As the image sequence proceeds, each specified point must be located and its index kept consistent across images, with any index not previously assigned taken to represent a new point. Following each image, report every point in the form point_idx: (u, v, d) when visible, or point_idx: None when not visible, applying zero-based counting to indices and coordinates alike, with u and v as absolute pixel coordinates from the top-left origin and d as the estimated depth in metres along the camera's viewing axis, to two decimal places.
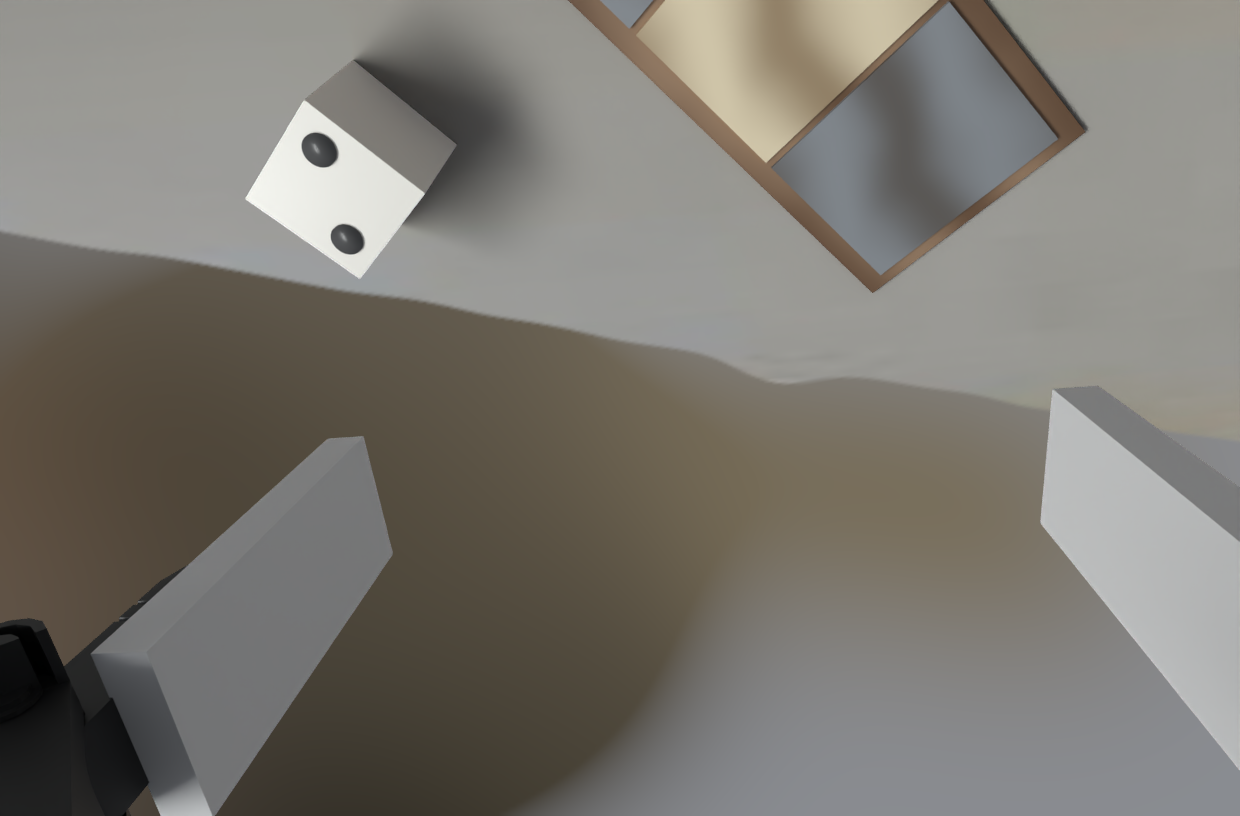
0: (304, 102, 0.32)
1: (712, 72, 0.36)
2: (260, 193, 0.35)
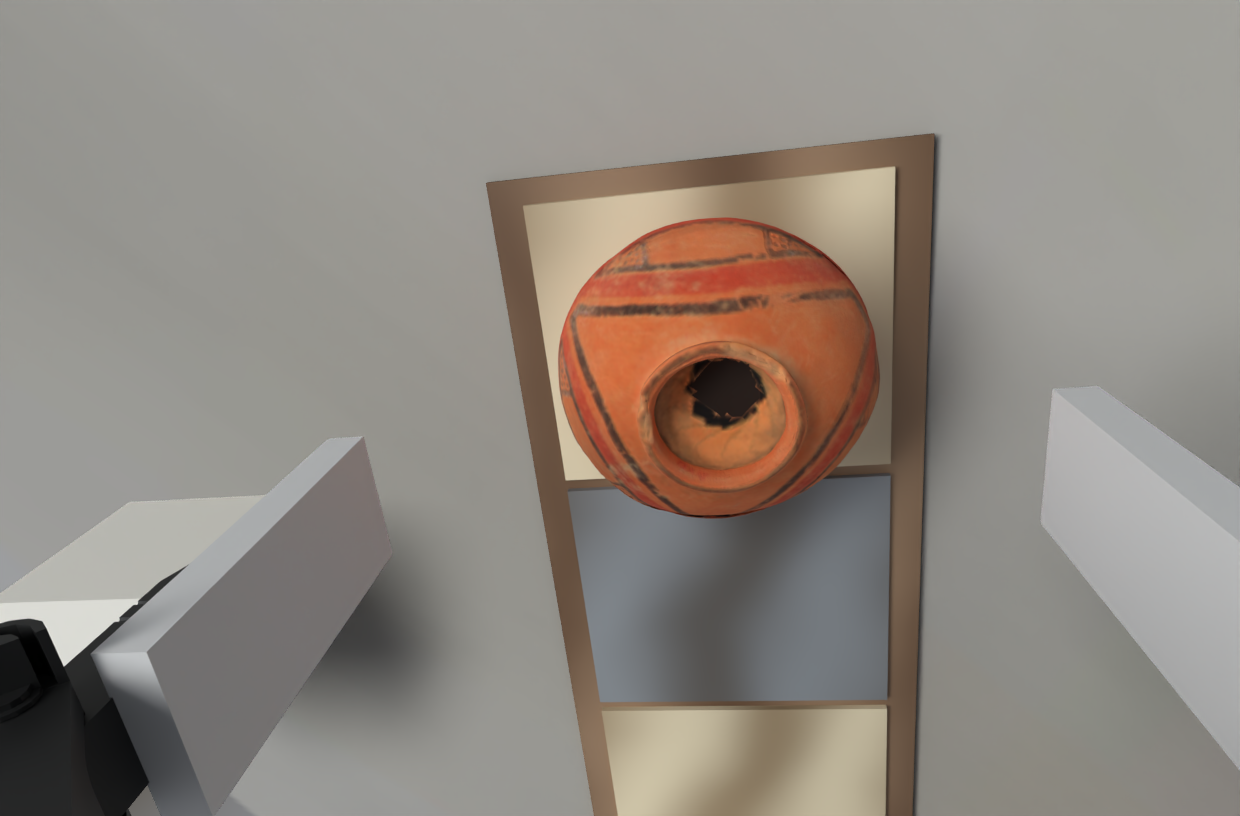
0: None
1: (644, 786, 0.29)
2: (14, 615, 0.22)
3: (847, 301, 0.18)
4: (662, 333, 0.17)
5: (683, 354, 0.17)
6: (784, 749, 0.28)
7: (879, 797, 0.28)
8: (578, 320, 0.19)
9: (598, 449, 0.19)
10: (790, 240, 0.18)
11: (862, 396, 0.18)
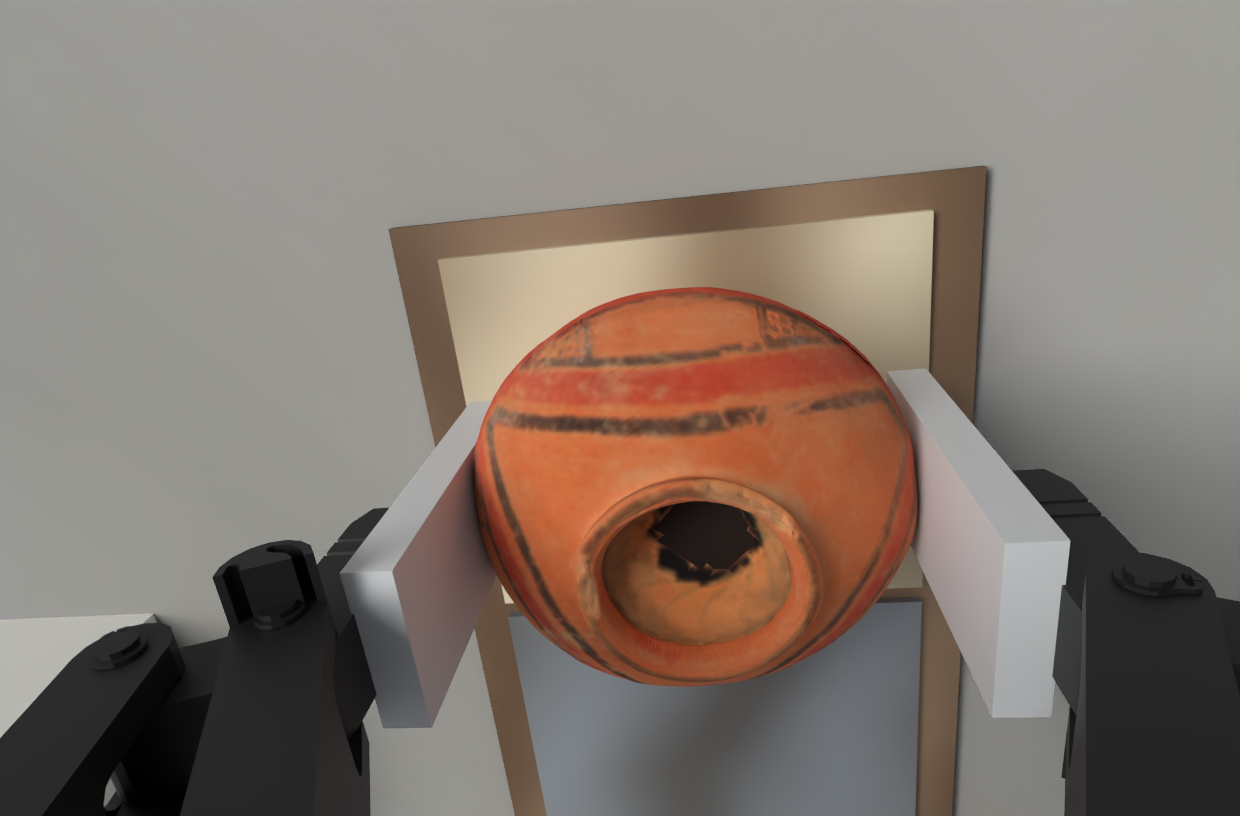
0: None
1: None
2: None
3: (877, 407, 0.12)
4: (611, 461, 0.12)
5: (642, 496, 0.11)
6: None
7: None
8: (497, 430, 0.13)
9: (527, 607, 0.14)
10: (795, 321, 0.12)
11: (897, 538, 0.13)
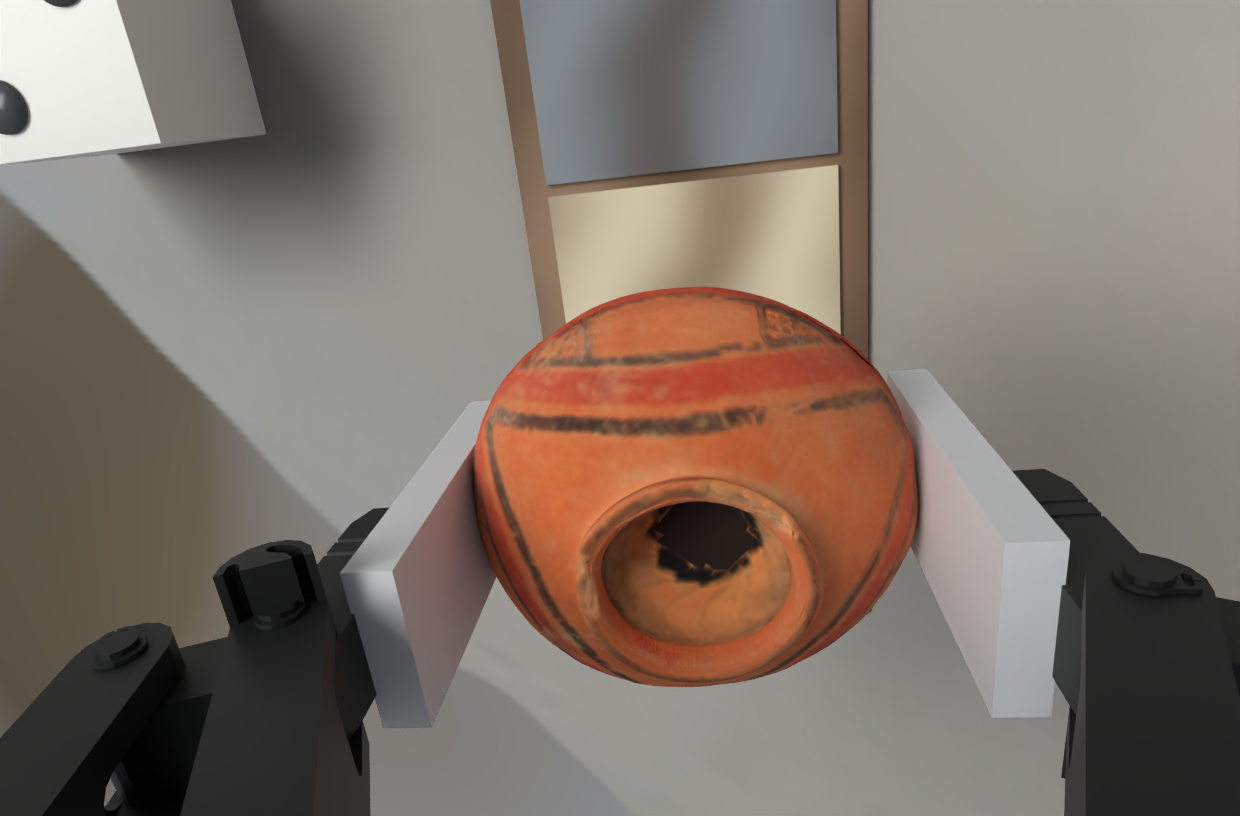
0: None
1: (594, 295, 0.29)
2: None
3: (877, 407, 0.12)
4: (611, 461, 0.12)
5: (641, 495, 0.11)
6: (735, 230, 0.27)
7: (833, 286, 0.28)
8: (497, 430, 0.13)
9: (527, 607, 0.14)
10: (795, 320, 0.12)
11: (898, 538, 0.13)
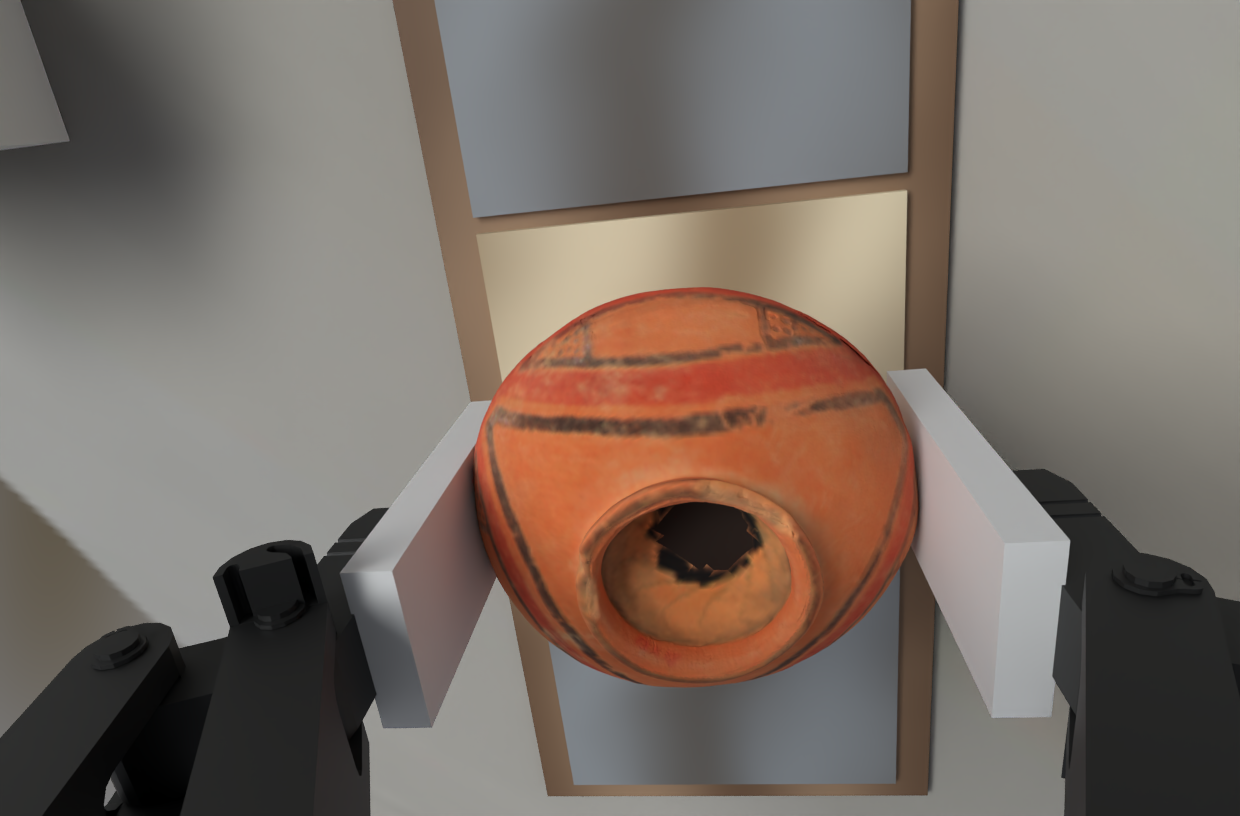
0: None
1: None
2: None
3: (877, 407, 0.12)
4: (611, 462, 0.12)
5: (640, 496, 0.11)
6: (751, 285, 0.18)
7: (894, 365, 0.19)
8: (497, 430, 0.13)
9: (527, 607, 0.14)
10: (795, 321, 0.12)
11: (898, 538, 0.13)
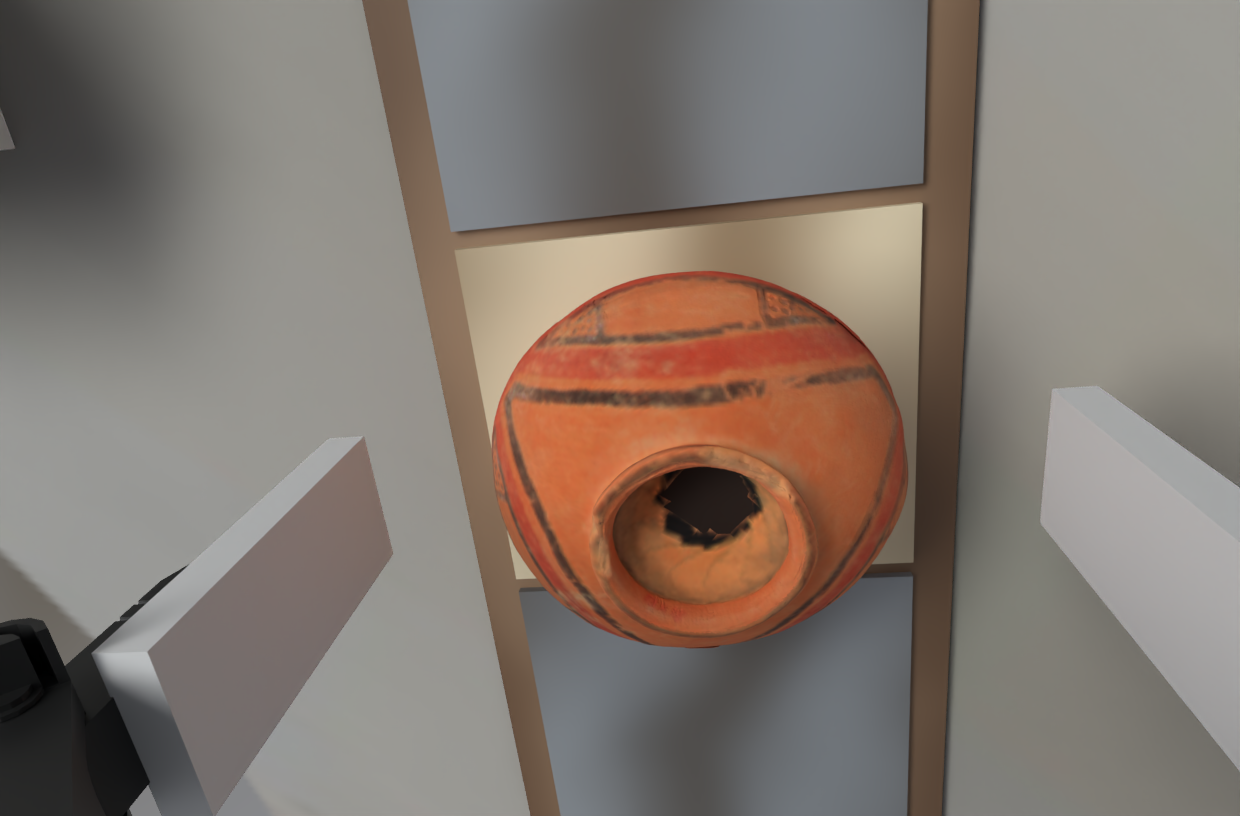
0: None
1: None
2: None
3: (868, 382, 0.13)
4: (622, 430, 0.13)
5: (650, 461, 0.12)
6: None
7: (907, 391, 0.17)
8: (515, 404, 0.14)
9: (542, 571, 0.15)
10: (793, 302, 0.13)
11: (888, 506, 0.14)
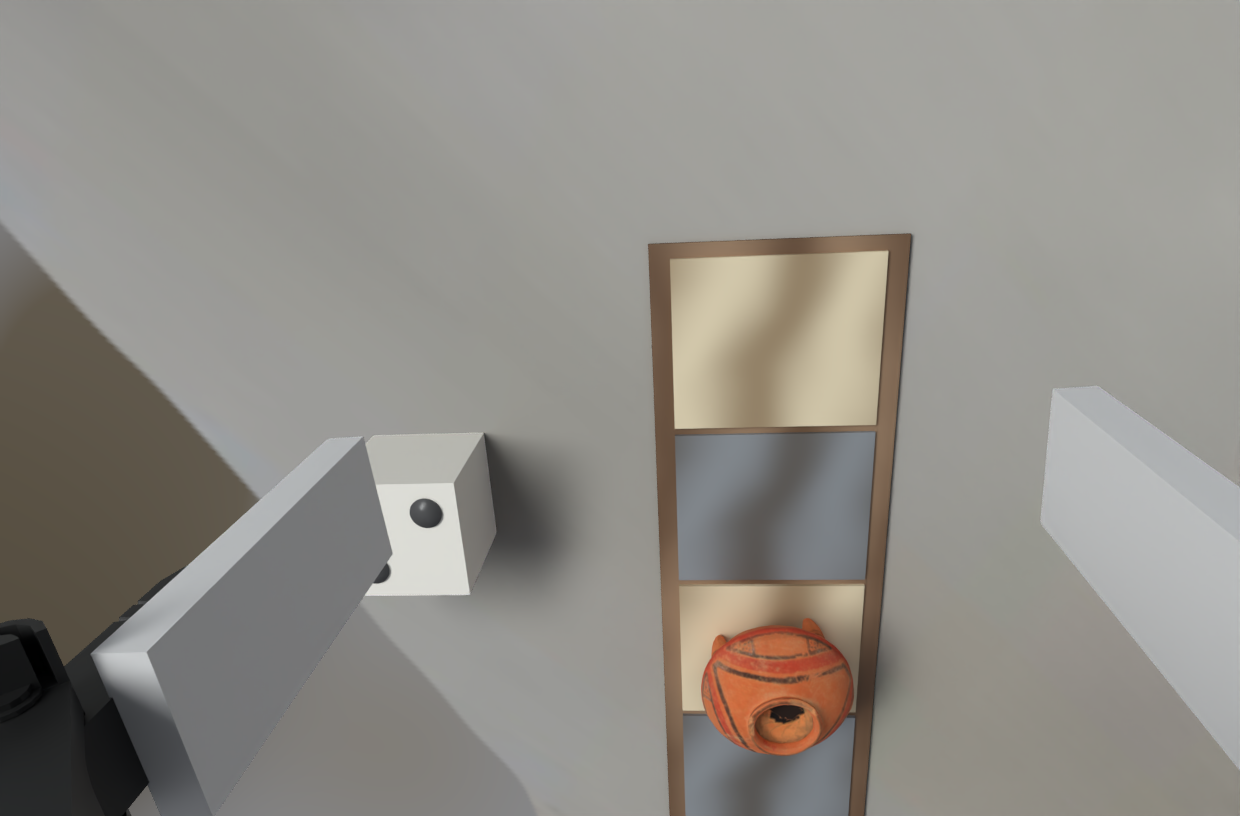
0: (451, 484, 0.35)
1: (701, 641, 0.44)
2: None
3: (841, 670, 0.39)
4: (762, 689, 0.38)
5: (771, 702, 0.38)
6: (797, 614, 0.43)
7: (856, 648, 0.43)
8: (717, 669, 0.40)
9: (722, 726, 0.40)
10: (817, 642, 0.39)
11: (846, 710, 0.40)
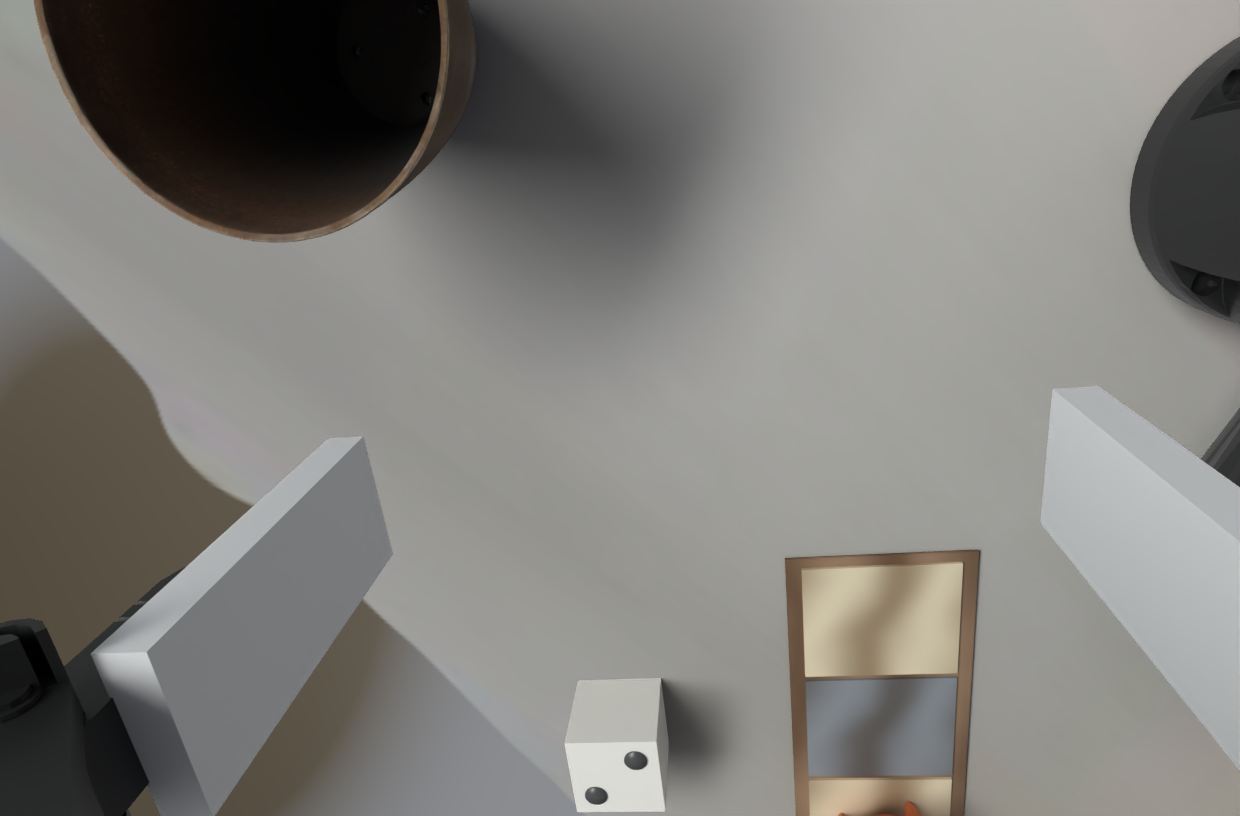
0: (655, 742, 0.50)
1: None
2: (577, 748, 0.51)
3: None
4: None
5: None
6: (900, 798, 0.57)
7: None
8: None
9: None
10: None
11: None
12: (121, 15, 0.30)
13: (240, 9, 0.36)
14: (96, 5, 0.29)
